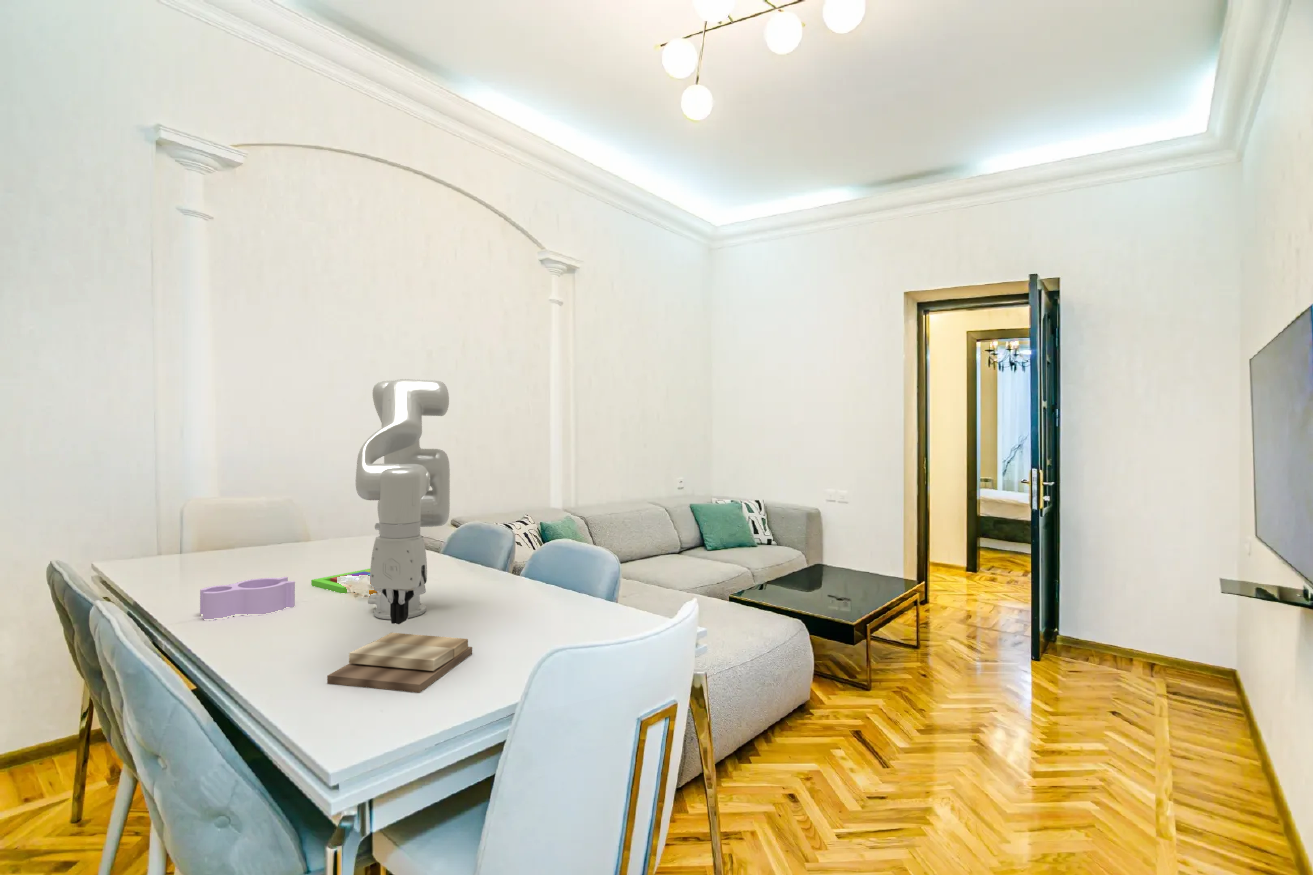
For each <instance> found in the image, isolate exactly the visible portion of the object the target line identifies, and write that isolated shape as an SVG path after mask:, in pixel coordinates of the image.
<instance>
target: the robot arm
mask: <svg viewBox="0 0 1313 875" xmlns="http://www.w3.org/2000/svg"><path fill="white" fill-rule="evenodd" d="M372 401H373V405H374V408H375V411H376V414H377V416H378V418H379V420H380V423H381V427H380V428H379V429H377V431H375V432H373V434H372V435H370V436H369V437H368V438H367V439H366V440H365V441H364V443H363V445H362V446H361V447H360V449H359V452H358V455H357V459H356V460H357V461H356V469H355V470H356V471H355V490H356V492H357V494H358V496H359V497H360V498H361V499H362V500H366V501H378V502H377V516H378V522H377V523H375V524H374V529H375V530H376V531H378V532H379V533H378V534H379V536H376V537H375V539H374V543H373V548H372V553H371V560H370V568H371V569H370V568H369V569H370V584H371V585H372V588H373V589H374V590H375V591H377V593H380V594H379V595H378V594H377V595H370V596H369V597H368V599H367V604H368V605H369V604H370V605H376V606H375V608H374V609H373V616H374V617H376V618H378V619H381V620H390V623H391V624H393V625H394V624H396V625H400V624H402V623H404V622H406V621H407V620H408V619H409V618H415V617H418V616H421V615H423V614H424V613H425V612H427V606H426V604H424V603H421V601H420V600H421V598H420V597H421V595H423V594H425V593H426V592H427V589H426V584H427V581H428V561H427V549H426V545H425V544H426V543H425V540H424V537H423V536H421V528H430V527H431V528H432V527H441V526H443V525H446V524H447V522H448V521H449V519H450V510H451V508H450V506H451V502H450V500H451V499H450V497H451V496H450V495H451V494H450V492H451V491H450V490H451V488H450V487H451V486H450V485H451V484H450V483H451V479H450V478H451V476H450V475H451V474H450V470H451V469H450V460H449V457H448V454H447V452H445V451H444V450H443V449H439V448H421V446H420V440H421V436H422V435H423V426H422V425H423V421H422V420H423V416H425V417H427V416H428V417H432V416H433V417H443V416H445V415H446V414H447V412H448V411H449V406H450V394H449V389H448V388H447V385H446V384H445V382H443V381H440V380H435V379H434V380H431V379H430V380H429V379H409V378H408V379H406V378H405V379H403V378H402V379H393V380H383V381H380V382H377V383H375V385H374V386H373V388H372ZM382 457H383V463H374V462H376V461H378V460H379V459H381V458H382ZM430 488H431V489H430Z"/></svg>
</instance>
